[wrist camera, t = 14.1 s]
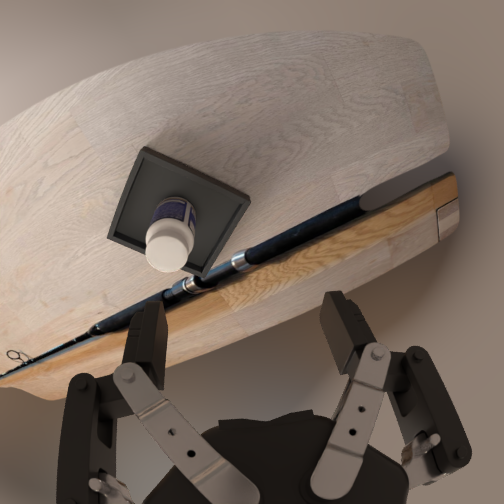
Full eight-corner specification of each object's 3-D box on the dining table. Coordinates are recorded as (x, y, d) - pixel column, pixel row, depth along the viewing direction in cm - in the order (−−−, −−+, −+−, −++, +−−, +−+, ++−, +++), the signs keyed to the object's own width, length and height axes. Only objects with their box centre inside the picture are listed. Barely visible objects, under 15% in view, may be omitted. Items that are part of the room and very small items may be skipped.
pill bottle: (147, 218, 38) (130, 258, 29) (171, 187, 36) (159, 220, 28) (179, 240, 40) (172, 285, 32) (205, 212, 39) (203, 251, 30)
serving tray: (110, 231, 39) (106, 238, 37) (144, 146, 33) (140, 149, 31) (204, 270, 44) (204, 278, 43) (249, 196, 39) (251, 202, 37)
